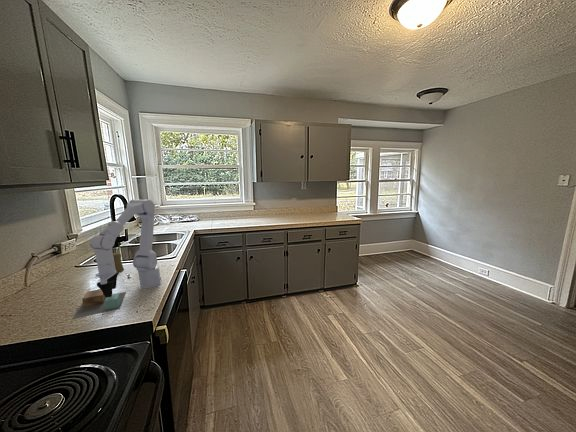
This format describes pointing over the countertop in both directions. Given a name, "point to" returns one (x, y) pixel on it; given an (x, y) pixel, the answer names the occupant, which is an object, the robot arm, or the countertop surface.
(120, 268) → the cork
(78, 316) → the mat
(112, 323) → the countertop surface
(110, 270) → the robot arm
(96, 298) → the walnut block
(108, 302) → the teal block
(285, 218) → the countertop surface
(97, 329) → the countertop surface
